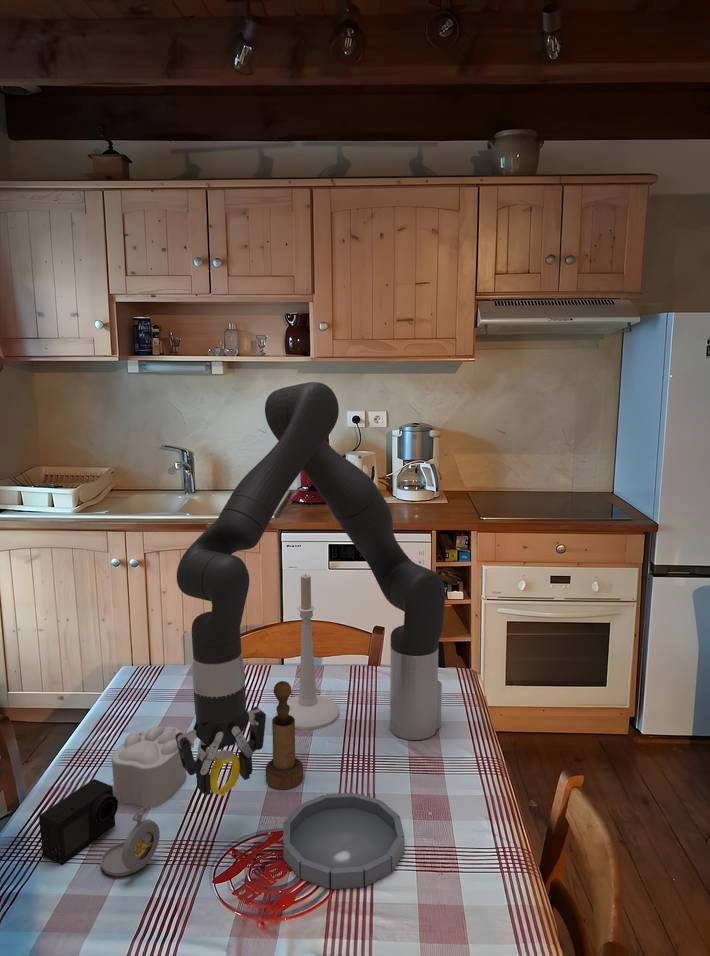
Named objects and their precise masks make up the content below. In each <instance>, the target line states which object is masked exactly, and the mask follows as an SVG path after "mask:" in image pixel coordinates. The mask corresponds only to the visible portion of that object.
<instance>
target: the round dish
mask: <svg viewBox="0 0 710 956" xmlns="http://www.w3.org/2000/svg"><path fill="white" fill-rule="evenodd" d="M282 829H283V833H282V834H283V836H282V850H283V851H282V853H283V855H282V856H283V860H284V862H286V864H287V866H289V867H290V869H291V870H292V871H293V872H294V874H296V876H297V877H298V878H300V879H301V880H303V881H305V882H309V883H311V884H314V885H317V886H320V887H323V888H325V889H327V890H329V889H331V890H341V889H354V888H357V889H358V888H364V886H365V887H367V886H369V885H372V884H373V883H376V882H378V881H379V880H381V879H383V878H386V877H387V876H389V875H391V874H392V873H393V872H394V871H395V868H396V867H397V865H398V863H399V862H400V860H401V859H402V857H403V855H404V853H405V833H404V829H403V823H402V819H401V816H400V815H399V814H398V813H397V812H396V811H394V810H393V809H392V808H391V807H390V806H389V805H387V804H386V803H385V802H384V801H383V800H381V799H378V798H376V797H375V798H374V797H372V796H368V795H364V794H360V793H357V792H342V793H341V792H340V793H339V792H338V793H326V794H322V795H320V796H317V797H315V798H313V799H310V800H308V801H305V802H302V803H300V805H297V807H296V808H295V809H294V810H293V812H292V813H290V815H289V816H288V817H287V818H286V819H285V821H284V822H283V828H282Z"/></svg>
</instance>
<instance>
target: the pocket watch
mask: <svg viewBox="0 0 710 956" xmlns="http://www.w3.org/2000/svg"><path fill="white" fill-rule="evenodd" d="M141 811H143V812H142V813H140V812H141ZM146 812H147V808H146V807H141V808H140V809H139V810H137V812H136V813H134V815H133V817H132V821H133V822H136V823H137V824H136V825H135V826H134V827H132V829H131V830H130V831H129V833H128V835H127V837H126V839H125V841H124V842H120V843H118V844H115V845H113V846H112V847H110V848H108V849H107V850H106V851H105V852H104V853H103V855H102V857H101V858H100V859H101V860H100V865H101V866H100V867H101V869H102V871H103V872H104V873H106V874H107V875H110V876H113V877H125V876H127V875H132V874H133V873H134V874H135V873H136V872H137V871H139V870H140V869H142V868H144V867H145V866H146V865H147V864H148V863H149V862H150V860H151V859H152V858H153V856H154V854H155V853H156V851H157V848H158V845H159V843H160V837H161V836H160V835H161V833H160V832H161V831H160V827H159V826H158V824H157V823H156V821H154V820H151V819H143V817H144V815H145V813H146ZM142 819H143V820H142Z"/></svg>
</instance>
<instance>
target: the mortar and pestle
mask: <svg viewBox="0 0 710 956" xmlns="http://www.w3.org/2000/svg"><path fill="white" fill-rule="evenodd" d="M273 694H274V696H275V698H276V699H277V701H278V705H277V706H276V707H275V708H276V715H275V716H273V718H272V720H271V727H272V728H271V729H272V730H271V731H272V732H271V733H272V759H270V760H269V761H268V763H266V766H265V781H266V784H267V785H268V786H269V787H271V788H274V789H277V790H289V789H293V788H296V787H298V785H300V784H301V782H302V781H303V779H304V766H303V765H304V764H303V762H302V761H301V760H300V759H298V758H297V757H296V729H295V719H294V717H292V716H291V715H288V714H289V710H290V706H289V705H287V700H288V699H290V696H291V694H292V686H291V685H290V683H289V682H287V681H285V680H281V681H278V682H277V683H276V684H275V685H274V687H273ZM277 714H278V715H277Z"/></svg>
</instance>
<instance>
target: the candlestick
mask: <svg viewBox="0 0 710 956" xmlns="http://www.w3.org/2000/svg"><path fill="white" fill-rule="evenodd" d="M311 578H312V577H311V575H310V574H307V573H304V574H302V575H300V601H301V602H300V604H301V605H299V606H298V607H297V608H296V609H297V611H299V616H300V618H301V621H302V624H301V625H300V627H301V634H300V635H301V636H300V637H301V638H300V665H299V666H300V668H299V669H300V670H299V692H298V694H299V695H295V696H293V697H289V698H288V700H287V705H289V706H290V710H289V714H288V715H291V716H292V717H294V719H295V730H300V731H313V730H318V729H321V728H326V727H328V726H331V725H332V724H334V723H335V722H336V721H337V720H338V719H339V716H340V708H339V706H338V704H337V703H336V702H335V701H334V700H332V699H330V698H328V697H326V696H325V695H324V696H323V695H320V694H319V695H318V694H317V685H316V673H315V658H314V645H313V643H314V642H313V630H312V629H313V628H312V627H313V625H312V623H311V620H312V618H313V616H314V610H316V606H314V605H312V584H311V583H312V582H311V581H312V579H311ZM277 715H278V714H277V713H276V716H277Z"/></svg>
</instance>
